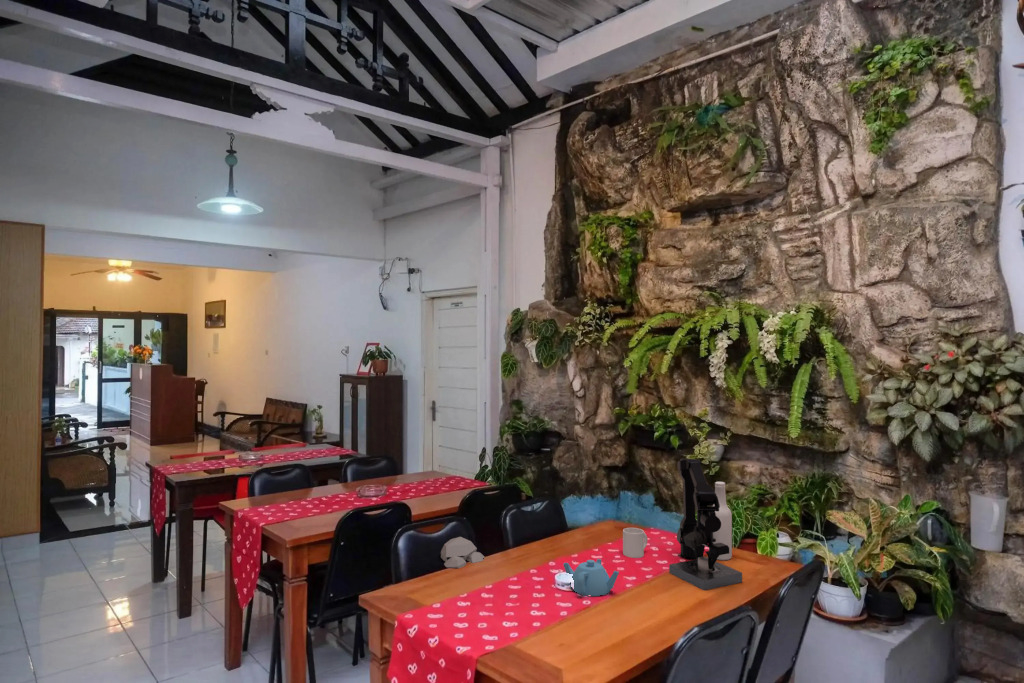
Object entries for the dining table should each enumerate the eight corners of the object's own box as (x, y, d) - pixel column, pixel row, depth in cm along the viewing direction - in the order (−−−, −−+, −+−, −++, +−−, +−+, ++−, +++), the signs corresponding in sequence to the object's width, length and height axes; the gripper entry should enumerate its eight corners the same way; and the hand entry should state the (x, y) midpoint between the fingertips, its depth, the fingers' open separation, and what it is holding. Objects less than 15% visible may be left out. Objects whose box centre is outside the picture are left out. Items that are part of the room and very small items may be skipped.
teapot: (561, 586, 219) (561, 555, 220) (600, 581, 224) (600, 551, 224) (579, 603, 205) (579, 570, 205) (620, 597, 209) (620, 565, 210)
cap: (695, 568, 229) (694, 557, 229) (705, 566, 231) (705, 555, 231) (704, 573, 224) (704, 561, 224) (715, 571, 226) (715, 559, 226)
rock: (491, 562, 244) (491, 537, 244) (460, 578, 227) (460, 551, 227) (455, 554, 254) (455, 530, 254) (422, 568, 237) (422, 542, 237)
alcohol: (708, 559, 248) (708, 483, 248) (708, 552, 256) (708, 479, 256) (732, 561, 245) (732, 485, 246) (731, 554, 254) (731, 480, 254)
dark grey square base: (669, 573, 232) (669, 564, 232) (706, 566, 240) (706, 557, 240) (703, 590, 216) (703, 580, 216) (742, 582, 223) (742, 572, 223)
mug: (639, 549, 259) (639, 525, 259) (654, 555, 252) (654, 529, 253) (618, 555, 253) (618, 529, 253) (633, 561, 246) (633, 534, 246)
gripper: (670, 520, 233) (670, 562, 232) (706, 533, 216) (706, 579, 216) (693, 517, 238) (693, 558, 237) (730, 529, 221) (730, 574, 221)
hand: (705, 566), depth 228 cm, fingers closed on cap, 5 cm apart
